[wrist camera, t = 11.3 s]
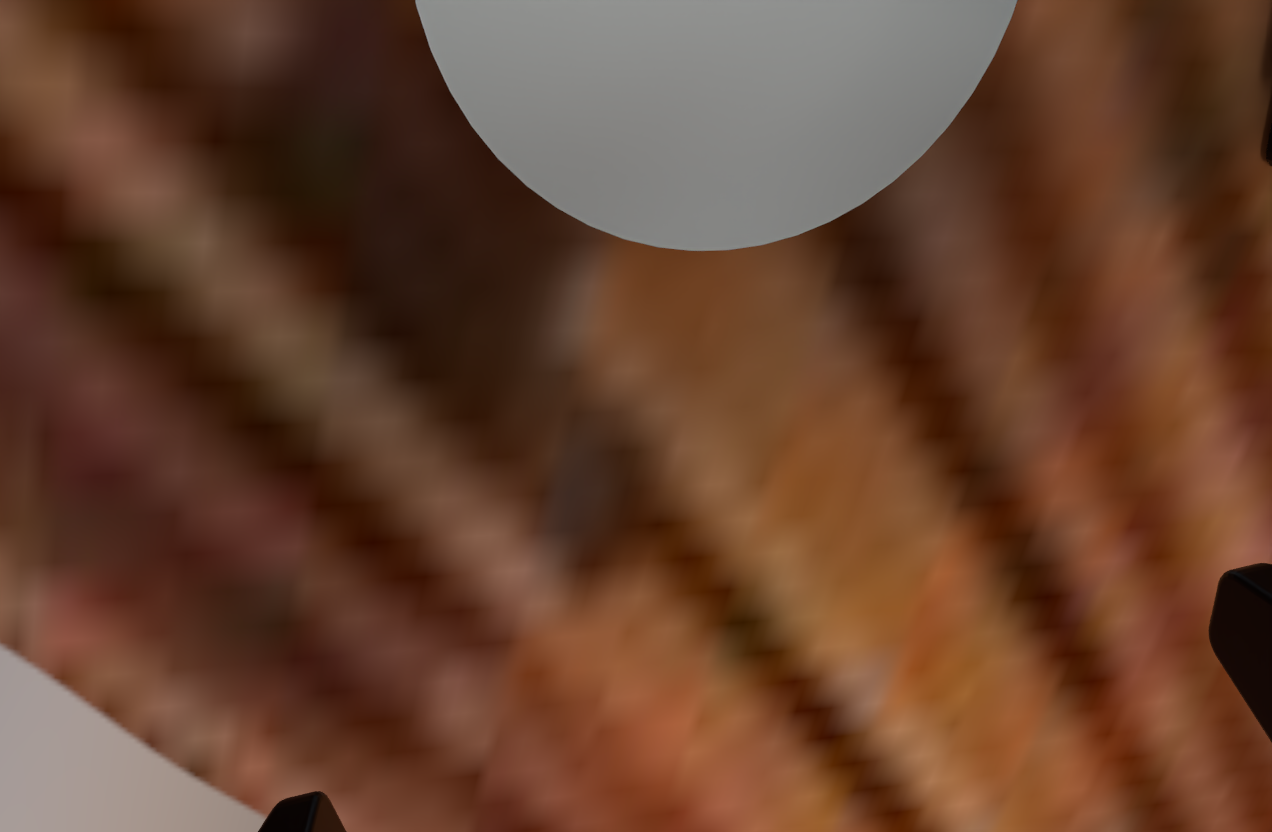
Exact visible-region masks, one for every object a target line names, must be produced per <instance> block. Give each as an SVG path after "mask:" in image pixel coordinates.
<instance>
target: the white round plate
mask: <svg viewBox="0 0 1272 832" xmlns="http://www.w3.org/2000/svg"><path fill="white" fill-rule="evenodd" d="M415 1H416V6H417V9H418V13H419V16H420V19H421V22H422V25H423V28H424V31H425V34H426V37H427V40H428V43H429V46H430V49H431V52H432V54H433V56H434V58H435V61H436V63H437V65H438V67H439V69H440V71H441V73H442V76H443V78H444V80H445V82H446V84H447V86H448V88H449V91H450V92H451V94H452V95H453V97H454V99H455V100H456V102H457V103H458V105H459V107H460V108H461V110H462V111H463V113H464V115H465V116H466V118H467V120H468V121H469V123H470V124H471V126H472V127H473V129H474V130H475V131H476V132H477V134H478V135H479V136H480V137H481V138H482V140H483V141H484V142H485V143H486V145H487V146H488V147H489V148H490V149H491V151H492V152H493V153H494V154H495V156H496V157H497V158H498V159H499V160H500V161H501V162H502V163H503V164H504V165H505V166H506V167H507V168H508V169H509V170H510V171H511V172H513V173H514V174H515V175H516V176H517V177H518V178H519V179H520V180H521V181H522V182H523V183H524V184H525V185H526V186H527V187H529V188H530V189H532V190H533V191H534V192H536V193H537V194H538V195H540V196H541V197H543V198H544V199H545V200H547V201H548V202H549V203H551V204H552V205H553V206H555V207H556V208H558V209H560V210H561V211H563V212H565V213H567V214H569V215H571V216H572V217H574V218H576V219H578V220H580V221H582V222H583V223H585V224H587V225H589V226H591V227H594V228H596V229H599V230H601V231H604V232H607V233H609V234H612V235H614V236H617V237H620V238H622V239H626V240H630V241H634V242H638V243H642V244H646V245H651V246H655V247H660V248H670V249H679V250H688V251H713V250H732V249H739V248H746V247H752V246H759V245H764V244H768V243H771V242H775V241H778V240H782V239H786V238H789V237H793V236H796V235H799V234H801V233H804V232H806V231H809V230H811V229H813V228H816V227H818V226H821V225H823V224H826V223H828V222H830V221H832V220H834V219H836V218H838V217H839V216H841V215H843V214H845V213H847V212H848V211H850V210H852V209H854V208H856V207H857V206H859V205H861V204H863V203H864V202H865V201H867V200H868V199H870V198H871V197H872V196H874V195H875V194H877V193H878V192H879V191H881V190H882V189H884V188H885V187H886V186H888V185H889V184H891V183H892V182H893V181H895V180H896V179H897V178H898V177H899V176H900V175H901V174H902V173H903V172H905V171H906V170H907V169H908V168H909V167H910V166H911V165H912V164H913V163H915V162H916V161H917V160H918V159H919V158H920V157H921V156H922V155H923V154H924V153H925V152H926V151H927V150H928V149H929V148H930V146H931V145H932V144H933V143H934V142H935V141H936V140H937V139H938V138H939V136H940V135H941V134H942V133H943V132H944V131H945V130H946V129H947V128H948V126H949V125H950V124H951V122H952V121H953V120H954V118H955V117H956V116H957V114H958V113H959V111H960V110H961V109H962V107H963V106H964V105H965V103H966V102H967V100H968V99H969V98H970V96H971V95H972V94H973V92H974V90H975V88H976V87H977V85H978V83H979V82H980V80H981V78H982V76H983V75H984V73H985V71H986V69H987V68H988V66H989V64H990V63H991V61H992V59H993V57H994V55H995V53H996V51H997V49H998V47H999V44H1000V42H1001V40H1002V38H1003V35H1004V33H1005V31H1006V29H1007V27H1008V24H1009V22H1010V20H1011V18H1012V15H1013V12H1014V9H1015V6H1016V3H1017V0H415Z"/></svg>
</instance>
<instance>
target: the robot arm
mask: <svg viewBox="0 0 1272 832" xmlns="http://www.w3.org/2000/svg"><path fill="white" fill-rule="evenodd" d="M1266 159H1267V161H1268V163H1269V165H1270V166H1272V125H1271V130H1270V135H1269V140H1268V146H1267V151H1266ZM1209 639H1210V643H1211V646H1212V648H1213V651H1214V653H1215V655H1216V656H1217V658H1218V660H1219V661H1220V663H1221V664H1222V666H1223V667H1224V669H1225V671H1226V672H1227V674H1228V675H1229V677H1230V678H1231V680H1232V681H1233V683H1234V685H1235V686H1236V688H1237V689H1238V691H1239V692H1240V694H1241V695H1242V697H1243V699H1244V700H1245V702H1246V703H1247V705H1248V706H1249V708H1250V709H1251V711H1252V713H1253V714H1254V716H1255V717H1256V719H1257V720H1258V722H1259V723H1260V725H1261V727H1262V728H1263V730H1264V731H1265V733H1266V734H1267V736H1268V737H1269V739H1270V741H1271V742H1272V564H1267V563H1258V564H1253V565H1249V566H1245V567H1241V568H1237V569H1233V570H1229V571H1227V572H1225V573H1224V574H1223V575H1222V577H1221V578H1220V580H1219V583H1218V587H1217V592H1216V597H1215V601H1214V606H1213V610H1212V615H1211V619H1210V624H1209ZM258 832H346V830H345V828H344V826H343V824H342V823H341V821H340V819H339V817H338V815H337V813H336V811H335V809H334V807H333V805H332V803H331V801H330V800H329V798H328V797H327V795H326V794H324V793H323V792H320V791H318V792H317V791H315V792H311V793H307V794H303V795H299V796H294V797H290V798H287V799H284V800H282V801H280V802H279V803H278V804H277V805H276V806H275V807H274V808H273V809H272V811H271V812H270V814H269V815H268V817H267V818H266V820H265V822H264V823H263V825H262V827H261V828H260V829H259V831H258Z"/></svg>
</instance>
